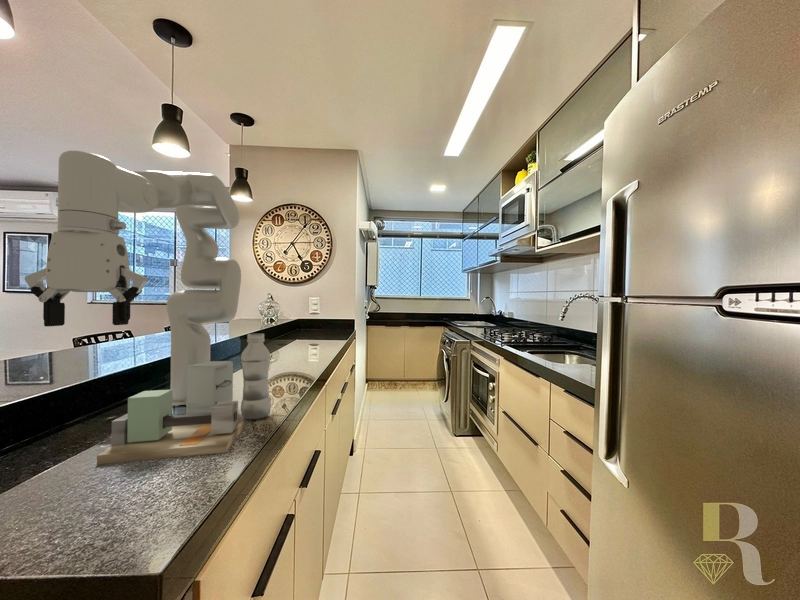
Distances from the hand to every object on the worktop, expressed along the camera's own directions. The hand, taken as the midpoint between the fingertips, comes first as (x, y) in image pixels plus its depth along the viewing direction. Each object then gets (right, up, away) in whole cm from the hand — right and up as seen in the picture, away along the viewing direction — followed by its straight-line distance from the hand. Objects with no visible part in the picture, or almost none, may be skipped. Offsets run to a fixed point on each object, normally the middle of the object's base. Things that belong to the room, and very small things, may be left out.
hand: (88, 325), depth 54 cm
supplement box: (+7, -24, +24) cm, 35 cm away
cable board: (+11, -24, +7) cm, 27 cm away
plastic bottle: (+20, -24, +21) cm, 37 cm away
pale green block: (+6, -22, +6) cm, 23 cm away
